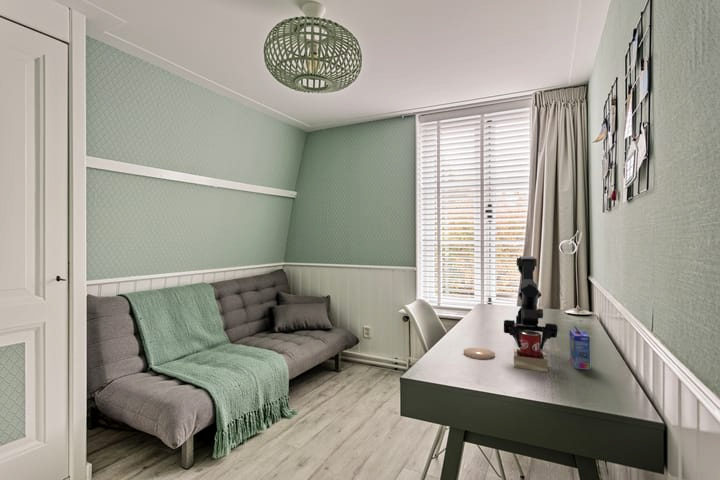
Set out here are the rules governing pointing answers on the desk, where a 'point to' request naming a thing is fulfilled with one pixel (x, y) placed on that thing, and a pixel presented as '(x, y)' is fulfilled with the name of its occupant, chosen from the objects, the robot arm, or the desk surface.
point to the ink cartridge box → (579, 349)
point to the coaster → (479, 353)
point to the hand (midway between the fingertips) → (530, 348)
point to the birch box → (530, 362)
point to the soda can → (530, 344)
